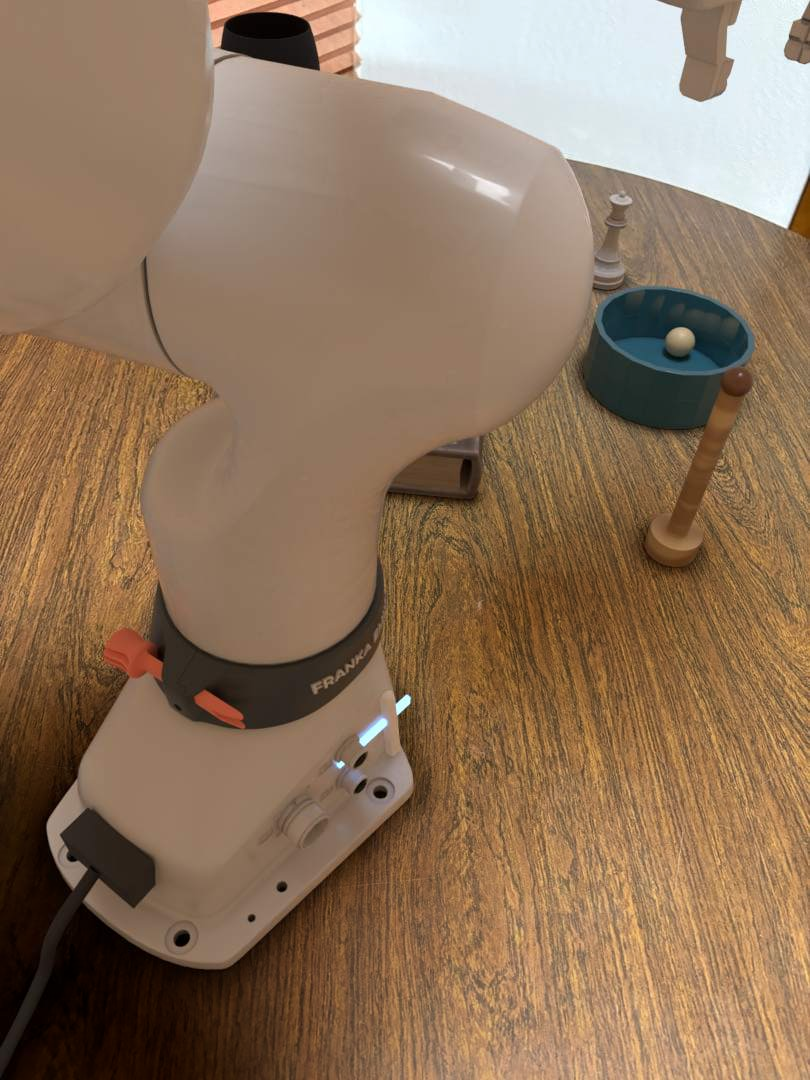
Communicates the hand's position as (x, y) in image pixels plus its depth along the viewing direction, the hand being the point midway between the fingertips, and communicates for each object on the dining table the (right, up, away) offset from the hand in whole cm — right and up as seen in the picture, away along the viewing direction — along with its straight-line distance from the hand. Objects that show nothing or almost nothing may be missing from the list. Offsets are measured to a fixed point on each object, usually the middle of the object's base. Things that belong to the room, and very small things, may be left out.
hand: (753, 76), depth 45 cm
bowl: (+6, -9, +37) cm, 39 cm away
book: (-22, -9, +36) cm, 43 cm away
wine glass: (-33, +14, +56) cm, 67 cm away
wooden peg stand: (+2, -25, +22) cm, 33 cm away
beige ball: (+8, -5, +38) cm, 39 cm away
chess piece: (+3, +4, +50) cm, 50 cm away
